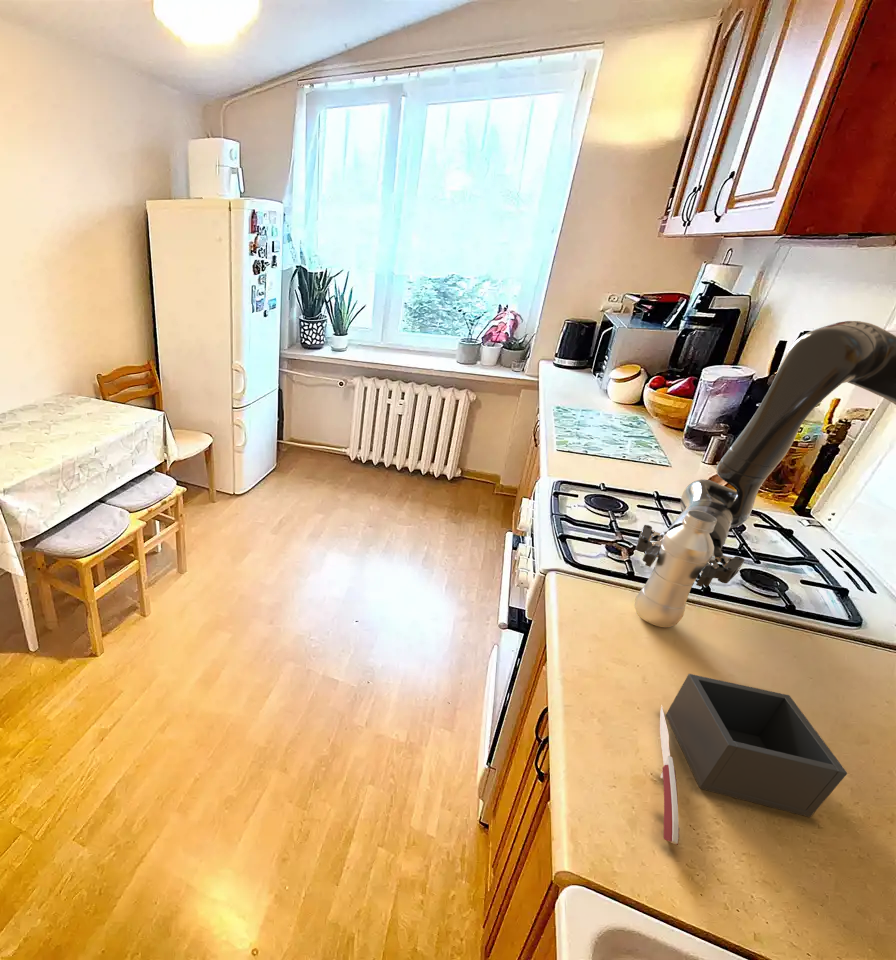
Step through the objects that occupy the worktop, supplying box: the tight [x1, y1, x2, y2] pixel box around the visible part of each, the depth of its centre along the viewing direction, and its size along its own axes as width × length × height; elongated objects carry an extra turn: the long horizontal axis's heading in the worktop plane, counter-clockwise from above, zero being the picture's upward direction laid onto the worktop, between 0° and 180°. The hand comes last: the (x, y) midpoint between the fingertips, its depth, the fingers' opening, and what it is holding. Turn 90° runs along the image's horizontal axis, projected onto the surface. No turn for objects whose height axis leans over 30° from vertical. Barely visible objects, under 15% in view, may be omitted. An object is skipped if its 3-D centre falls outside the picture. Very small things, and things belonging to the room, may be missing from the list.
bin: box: [665, 673, 848, 818], centre depth 62 cm, size 11×11×8 cm
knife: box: [659, 704, 681, 847], centre depth 61 cm, size 20×1×3 cm, turn 148°
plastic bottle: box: [633, 510, 717, 628], centre depth 82 cm, size 6×7×20 cm
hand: (674, 570), depth 80 cm, fingers closed on plastic bottle, 6 cm apart
